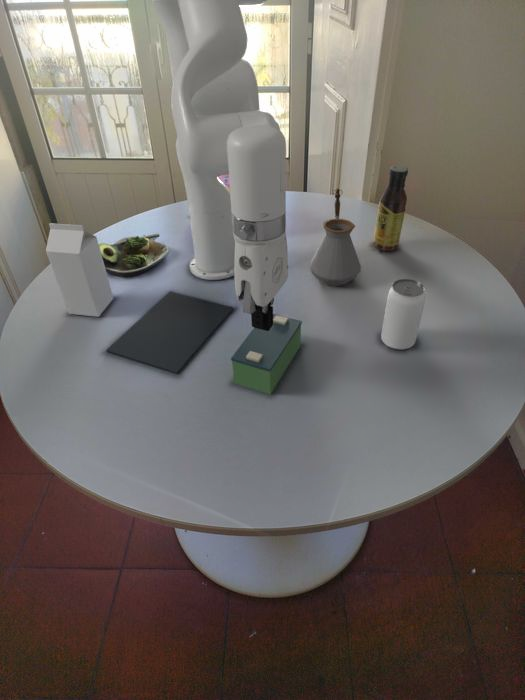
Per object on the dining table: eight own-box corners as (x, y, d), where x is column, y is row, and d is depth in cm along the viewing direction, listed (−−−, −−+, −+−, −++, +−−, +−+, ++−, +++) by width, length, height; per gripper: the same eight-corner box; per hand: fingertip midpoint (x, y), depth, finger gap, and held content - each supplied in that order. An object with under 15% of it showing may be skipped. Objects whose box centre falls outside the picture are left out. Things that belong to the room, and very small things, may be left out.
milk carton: (99, 317, 98) (73, 234, 86) (68, 314, 99) (38, 231, 87) (114, 298, 104) (91, 217, 91) (84, 296, 105) (58, 215, 93)
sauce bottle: (370, 241, 121) (380, 162, 108) (393, 240, 121) (407, 161, 108) (376, 254, 116) (388, 173, 103) (401, 252, 116) (416, 171, 103)
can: (416, 333, 91) (429, 280, 84) (413, 353, 87) (426, 299, 79) (383, 327, 93) (392, 275, 85) (378, 347, 88) (387, 293, 81)
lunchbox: (233, 383, 82) (266, 336, 92) (270, 395, 80) (301, 346, 89) (230, 355, 78) (266, 309, 88) (270, 367, 75) (302, 318, 85)
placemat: (170, 293, 105) (170, 291, 104) (233, 309, 99) (233, 307, 99) (106, 352, 90) (106, 350, 89) (177, 374, 84) (176, 372, 84)
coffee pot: (360, 291, 103) (368, 228, 93) (308, 289, 104) (311, 226, 95) (356, 245, 119) (362, 187, 110) (311, 244, 120) (313, 186, 111)
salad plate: (138, 232, 128) (135, 216, 125) (186, 249, 120) (184, 233, 117) (81, 262, 116) (75, 245, 113) (130, 283, 108) (125, 266, 105)
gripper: (260, 251, 60) (264, 359, 71) (303, 206, 70) (300, 307, 82) (209, 241, 62) (221, 347, 74) (257, 199, 72) (261, 298, 84)
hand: (262, 326), depth 78 cm, fingers closed
